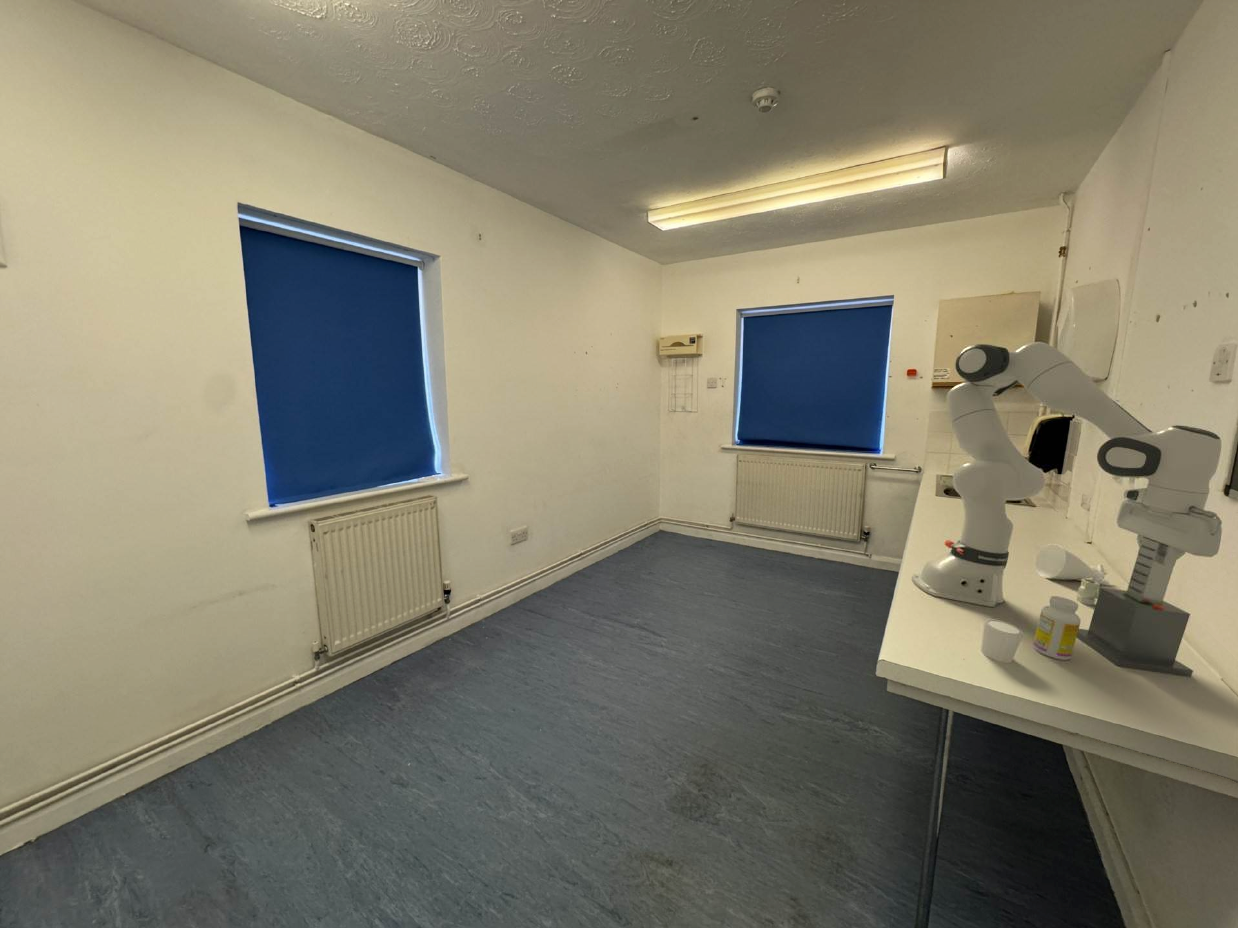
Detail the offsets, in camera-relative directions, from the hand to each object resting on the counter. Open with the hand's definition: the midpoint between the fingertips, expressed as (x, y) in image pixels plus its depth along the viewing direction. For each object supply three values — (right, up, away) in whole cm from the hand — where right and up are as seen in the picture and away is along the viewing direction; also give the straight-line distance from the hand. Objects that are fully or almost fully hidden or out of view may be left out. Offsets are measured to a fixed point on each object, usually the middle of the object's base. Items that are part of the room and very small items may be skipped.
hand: (1155, 560), depth 108 cm
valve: (+17, -19, +29) cm, 39 cm away
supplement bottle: (-21, -22, +3) cm, 30 cm away
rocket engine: (+27, -17, +47) cm, 57 cm away
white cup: (-36, -21, 0) cm, 42 cm away
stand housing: (-2, -23, +5) cm, 23 cm away
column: (-1, -15, +3) cm, 15 cm away
